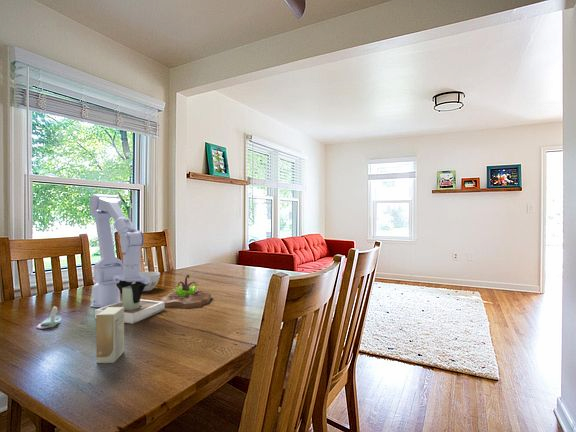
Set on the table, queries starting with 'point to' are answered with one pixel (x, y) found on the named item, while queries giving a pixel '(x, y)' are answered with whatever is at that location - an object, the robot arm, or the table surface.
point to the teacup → (153, 279)
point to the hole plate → (142, 306)
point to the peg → (128, 299)
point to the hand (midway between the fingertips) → (131, 302)
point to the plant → (186, 296)
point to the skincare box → (109, 334)
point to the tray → (140, 314)
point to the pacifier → (50, 320)
